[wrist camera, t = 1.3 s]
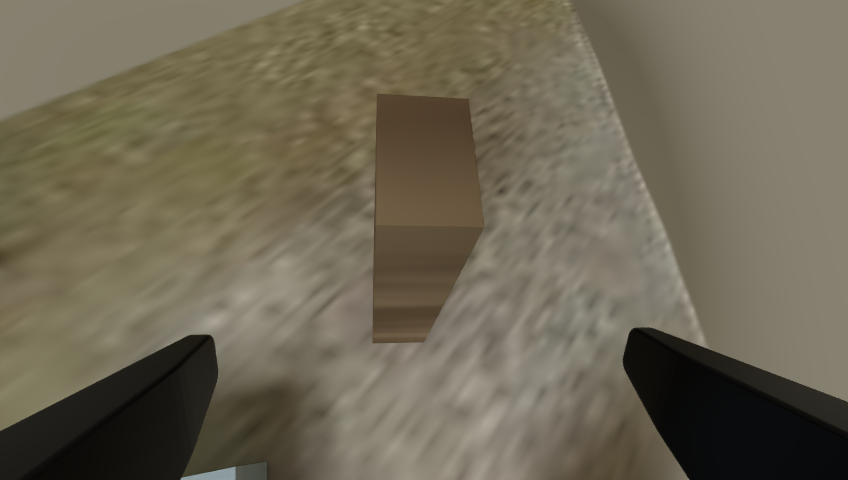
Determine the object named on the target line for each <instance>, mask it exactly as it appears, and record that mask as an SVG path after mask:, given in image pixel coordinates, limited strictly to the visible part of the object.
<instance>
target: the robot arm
mask: <svg viewBox="0 0 848 480" xmlns="http://www.w3.org/2000/svg"><path fill="white" fill-rule="evenodd" d="M623 366H624V369H625V372H626V374H627V375H628V377H629V379H630V381H631V383H632V385H633V387H634V388H635V390H636V392H637V394H638V396H639V398H640V400H641V401H642V403H643V405H644V407H645V409H646V411H647V413H648V415H649V416H650V418H651V420H652V422H653V424H654V425H655V427H656V429H657V431H658V432H659V434H660V435H661V437H662V439H663V440H664V442H665V443H666V445H667V446H668V448H669V449H670V451H671V452H672V454H673V455H674V457H675V458H676V460H677V461H678V463H679V464H680V466H681V467H682V469H683V471H684V472H685V474H686V475H687V477H688V478H689V480H848V402H846V401H844V400H841V399H839V398H836V397H833V396H831V395H828V394H825V393H823V392H820V391H817V390H815V389H812V388H809V387H807V386H804V385H802V384H799V383H796V382H794V381H791V380H788V379H786V378H783V377H781V376H778V375H775V374H772V373H770V372H767V371H765V370H762V369H759V368H756V367H754V366H751V365H749V364H746V363H744V362H741V361H738V360H736V359H733V358H730V357H728V356H725V355H722V354H720V353H717V352H714V351H712V350H709V349H707V348H704V347H701V346H699V345H696V344H693V343H691V342H688V341H685V340H683V339H680V338H678V337H675V336H672V335H670V334H667V333H664V332H662V331H659V330H656V329H654V328H649V327H641V328H633V329H632V330H631V331H630V333H629V336H628V340H627V344H626V348H625V352H624V356H623ZM217 378H218V365H217V358H216V350H215V343H214V339H213V337H212V336H211V335H189V336H187V337H185V338H183V339H181V340H179V341H177V342H175V343H173V344H171V345H169V346H167V347H165V348H163V349H161V350H159V351H157V352H155V353H153V354H151V355H149V356H147V357H145V358H143V359H141V360H139V361H137V362H135V363H133V364H131V365H130V366H128V367H126V368H124V369H122V370H120V371H118V372H116V373H114V374H112V375H110V376H108V377H106V378H104V379H102V380H100V381H98V382H96V383H94V384H92V385H90V386H88V387H86V388H84V389H82V390H80V391H78V392H76V393H75V394H73V395H71V396H69V397H67V398H65V399H63V400H61V401H59V402H57V403H55V404H53V405H51V406H49V407H47V408H45V409H43V410H41V411H39V412H37V413H35V414H33V415H31V416H29V417H27V418H25V419H23V420H21V421H20V422H18V423H16V424H14V425H12V426H10V427H8V428H6V429H4V430H2V431H0V480H181V478H182V475H183V473H184V471H185V469H186V467H187V465H188V462H189V460H190V458H191V455H192V453H193V450H194V448H195V445H196V442H197V439H198V436H199V433H200V430H201V427H202V424H203V421H204V418H205V415H206V412H207V409H208V406H209V403H210V401H211V398H212V395H213V392H214V389H215V386H216V383H217Z"/></svg>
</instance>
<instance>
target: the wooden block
mask: <svg viewBox="0 0 848 480" xmlns="http://www.w3.org/2000/svg"><path fill="white" fill-rule="evenodd" d="M483 229H484V221H483V213H482V204H481V196H480V188H479V180H478V172H477V164H476V156H475V148H474V140H473V132H472V124H471V116H470V108H469V100H468V99H459V98H441V97H424V96H406V95H389V94H377V120H376V170H375V219H374V271H373V343H406V342H424V341H425V339H426V337H427V335H428V333H429V331H430V329H431V328H432V326H433V324H434V322H435V320H436V318H437V316H438V314H439V312H440V310H441V309H442V307H443V305H444V303H445V301H446V299H447V297H448V295H449V293H450V291H451V289H452V288H453V286H454V284H455V282H456V280H457V278H458V276H459V274H460V272H461V270H462V269H463V267H464V265H465V263H466V261H467V259H468V257H469V255H470V253H471V251H472V249H473V248H474V246H475V244H476V242H477V240H478V238H479V236H480V234H481V232H482V230H483Z"/></svg>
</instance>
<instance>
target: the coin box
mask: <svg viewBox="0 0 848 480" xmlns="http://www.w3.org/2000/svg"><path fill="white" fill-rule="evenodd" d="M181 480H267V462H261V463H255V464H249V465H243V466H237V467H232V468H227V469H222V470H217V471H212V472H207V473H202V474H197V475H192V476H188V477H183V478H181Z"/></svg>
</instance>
